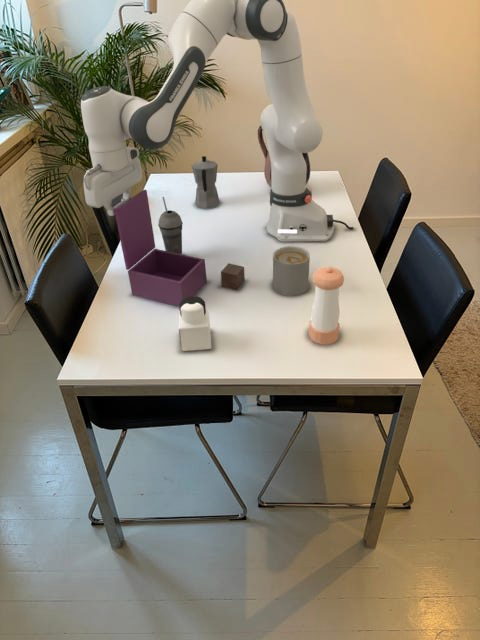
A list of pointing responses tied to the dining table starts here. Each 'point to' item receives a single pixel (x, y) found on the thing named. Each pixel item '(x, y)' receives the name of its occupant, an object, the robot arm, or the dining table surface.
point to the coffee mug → (291, 270)
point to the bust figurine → (194, 324)
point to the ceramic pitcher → (268, 163)
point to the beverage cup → (171, 230)
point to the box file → (167, 277)
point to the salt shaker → (326, 306)
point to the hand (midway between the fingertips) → (119, 209)
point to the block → (232, 276)
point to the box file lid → (135, 228)
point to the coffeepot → (206, 183)
